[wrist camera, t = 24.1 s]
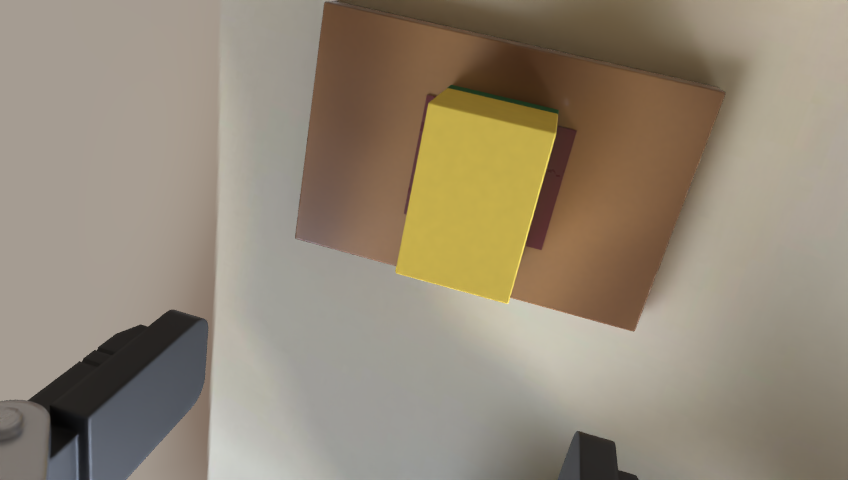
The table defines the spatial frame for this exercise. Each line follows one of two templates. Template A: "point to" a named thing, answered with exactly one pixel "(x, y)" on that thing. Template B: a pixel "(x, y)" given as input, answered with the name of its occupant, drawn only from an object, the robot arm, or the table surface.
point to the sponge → (475, 191)
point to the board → (566, 171)
